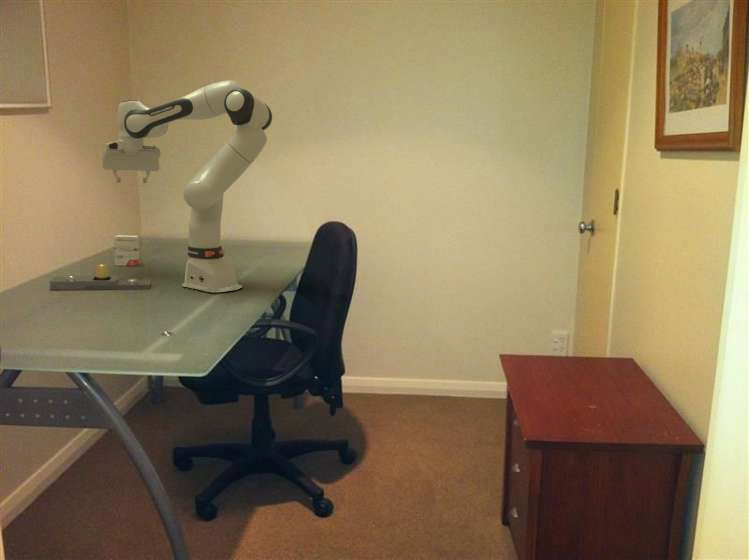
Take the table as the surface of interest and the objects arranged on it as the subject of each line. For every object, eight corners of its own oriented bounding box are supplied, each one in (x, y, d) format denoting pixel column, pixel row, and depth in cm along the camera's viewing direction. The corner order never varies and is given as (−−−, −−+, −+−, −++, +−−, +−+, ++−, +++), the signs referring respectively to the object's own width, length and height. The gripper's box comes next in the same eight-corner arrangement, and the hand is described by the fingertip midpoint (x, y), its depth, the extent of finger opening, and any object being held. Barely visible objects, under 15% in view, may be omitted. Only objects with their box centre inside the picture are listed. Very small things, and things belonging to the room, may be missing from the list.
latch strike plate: (151, 283, 251) (150, 272, 250) (149, 289, 243) (149, 277, 242) (54, 284, 243) (54, 273, 242) (50, 290, 235) (49, 278, 234)
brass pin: (109, 287, 243) (109, 264, 242) (100, 288, 241) (99, 266, 239) (104, 285, 246) (103, 263, 244) (94, 286, 243) (94, 264, 241)
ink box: (140, 263, 283) (139, 235, 280) (137, 266, 278) (136, 237, 276) (118, 263, 282) (117, 234, 279) (114, 265, 277) (113, 236, 275)
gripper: (160, 145, 265) (161, 182, 268) (103, 143, 259) (104, 181, 262) (159, 146, 259) (160, 184, 262) (101, 144, 253) (102, 182, 256)
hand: (132, 182), depth 262 cm, fingers open, 8 cm apart
